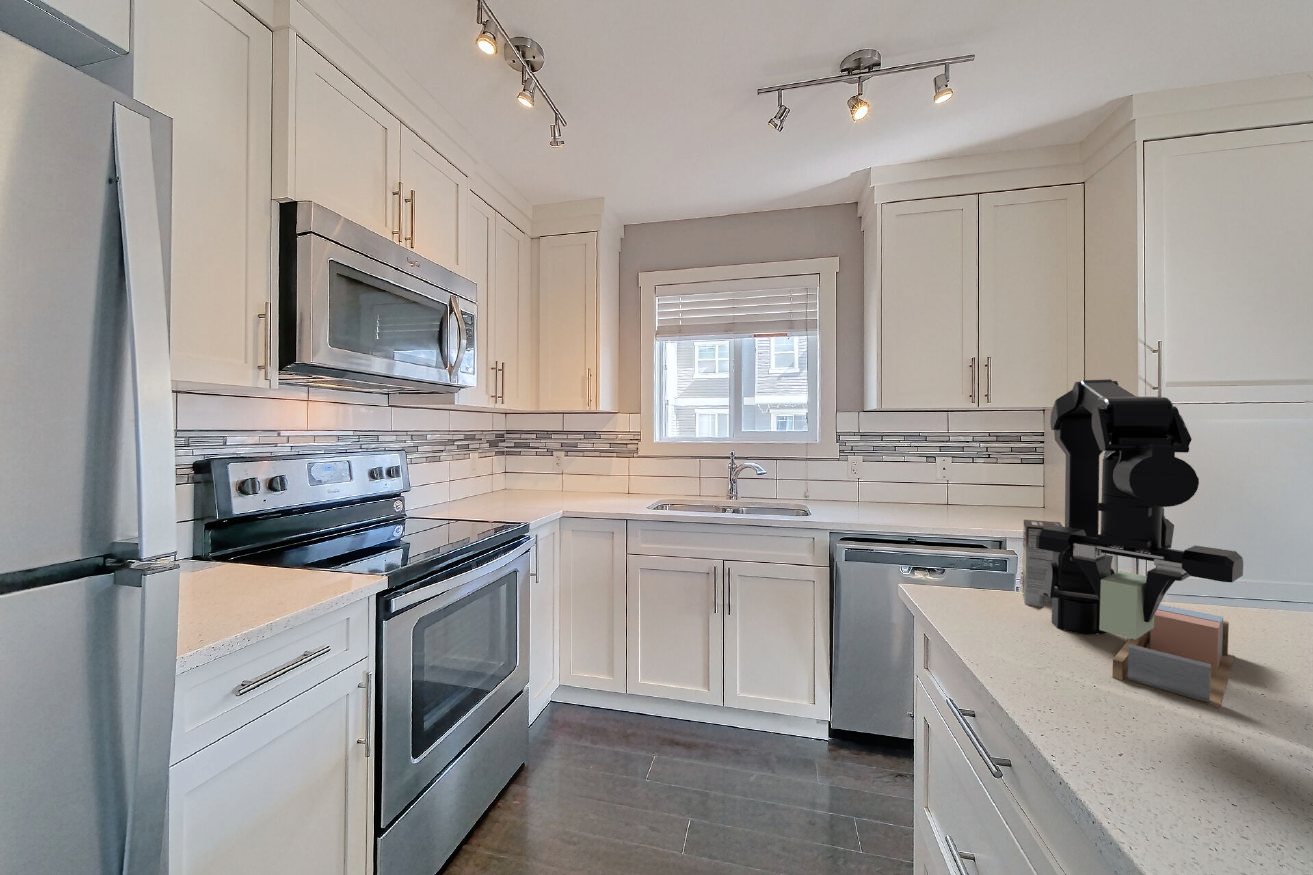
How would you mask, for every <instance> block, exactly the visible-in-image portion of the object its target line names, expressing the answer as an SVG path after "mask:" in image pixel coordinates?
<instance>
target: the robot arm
mask: <svg viewBox="0 0 1313 875" xmlns="http://www.w3.org/2000/svg"><path fill="white" fill-rule="evenodd" d="M1050 412H1051V413H1050V418H1049V420H1050V422H1049V424H1050V430H1051V431H1054V432H1053V433H1054V441H1055V442H1056V444H1057V445H1058V447H1059V448H1060V449H1061V451H1062V452H1063V453H1064V455H1065V475H1064V476H1065V479H1064V480H1065V492H1064V497H1065V498H1064V526H1063V525H1062V526H1063V527H1062V526H1051V527H1047V528H1043V529H1041V530H1040V531H1039V532H1038V534H1037V536H1036V548H1038V549H1042V550H1048V551H1053V562H1050V563H1049V566H1048V569H1047V572H1046V575H1045V591H1046V593H1047V594H1048V596H1049V597H1050V598H1052V604H1051V624H1053V626H1054V627H1055V628H1056V629H1058V630H1062V631H1065V632H1069V633H1074V634H1079V635H1089V636H1090V635H1091V636H1092V635H1093V636H1095V635H1107V632H1105V631H1102V630H1099V626H1100V592H1101V579H1103V578H1106V577H1108V576H1110V575H1113V574H1115V573H1116V572H1115V571H1114V568H1112V563H1113V562H1112V561H1113V558H1114V556H1119V557H1127V558H1132V559H1136V560H1137V559H1138V560H1143V561H1148V562H1149V561H1150V562H1153V565H1154V566H1155V567H1153V568H1152V569H1149V570H1148V571H1147V572H1146V576H1147V579H1146V589H1145V598H1144V608H1143V614H1144V622H1147V623H1149V622H1150V621H1151V620H1152V618H1153V616H1154V614H1155V612H1156V610H1157V608H1158V607H1159V605H1160V604H1161V602H1162V601H1163V599H1164V597H1165V595H1166V594H1167V592H1168V590H1170V588H1171V587H1172V585H1173V584H1174V583H1175V582H1181V581H1184V580H1186V579H1188V578H1189V577H1194V578H1200V579H1205V580H1211V581H1214V582H1215V581H1216V582H1222V583H1234V582H1235V581H1237V580H1238V579H1240V578H1241V577H1243V575H1244V559H1243V556H1241V554H1240V553H1238V551H1237V550H1230V549H1229V550H1228V549H1222V548H1217V547H1210V546H1201V545H1193V546H1191V547H1189V548H1186V549H1184V550H1179V549H1174V548H1173V549H1172V546H1173V545H1172V544H1173V538H1174V532H1175V531H1174V530H1175V524H1173V523H1172V522H1171V521H1170V520H1169V518H1168V519H1167V518H1166V517H1165V508H1169V507H1176V506H1179V505H1182V504H1184V503H1185V502H1187V501H1190V500H1191V498H1193V497H1194V496H1195V494H1196V493H1197V491H1198V487H1199V484H1200V479H1199V476H1198V475H1197V473H1196V470H1195V469H1194V468H1193V466H1191V464H1189V463H1188V462H1186V461H1185V460H1183V459H1181V458H1179V457H1176V455H1175V454H1176V453H1185V454H1187V453H1189V452H1190V444H1191V442H1192V436H1191V435H1190V432H1189V429H1188V427H1187V426H1186V423H1185V421H1184V418H1183V416H1182V415H1181V414H1180V412H1179V410H1178V407H1177V406H1174V405H1173V402H1172V401H1171V400H1170V399H1169V398H1168V397H1165V396H1136V395H1134V394H1133V393H1131V392H1130V391H1128V390H1127V389H1125V388H1123V387H1121V386H1120V385H1119V383H1118V381H1117V380H1112V379H1109V378H1108V379H1081V380H1080V381H1075V382H1074V384H1073V386H1072V389H1071V390H1070V391H1068V392H1066V393H1064V394H1063V395H1062V396H1060V397H1058V398H1057V399H1055V401H1054V404H1053V407H1052V408H1051V411H1050ZM1103 452H1104V453H1103ZM1102 453H1103V454H1104V456H1103V458H1102V466H1101V467H1102V468H1101V469H1102V474H1101V502H1100V456H1101V454H1102ZM1099 512H1100V513H1099ZM1099 515H1100V517H1099ZM1099 518H1100V520H1099ZM1099 521H1100V524H1099ZM1099 525H1100V526H1099ZM1099 527H1100V529H1099ZM1099 530H1100V531H1099ZM1099 532H1100V533H1099ZM1113 555H1114V556H1113ZM1055 586H1056V587H1057V588H1055Z"/></svg>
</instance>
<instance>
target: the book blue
mask: <svg viewBox="0 0 1313 875" xmlns="http://www.w3.org/2000/svg"><path fill="white" fill-rule="evenodd" d="M1157 610H1161V611H1166V612H1171V613H1176V614H1181V615H1186V616H1190V617H1195V618H1200V619H1205V620H1210V621H1215V622H1220V623H1221V631H1220V660H1221V657H1222V640H1223V621H1224V616H1221V615H1216V614H1211V613H1205V612H1201V611H1196V610H1191V609H1185V608H1180V607H1176V606H1171V605H1166V604H1161V603H1160V605H1159V607H1158V608H1157Z"/></svg>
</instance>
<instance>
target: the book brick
mask: <svg viewBox="0 0 1313 875" xmlns="http://www.w3.org/2000/svg"><path fill="white" fill-rule="evenodd" d="M1220 631H1221V623H1220V622H1215V621H1210V620H1205V619H1200V618H1195V617H1190V616H1186V615H1181V614H1176V613H1171V612H1166V611H1161V610H1156V612H1155V614H1154V628H1153V629H1151V637H1150V649H1152V650H1156V651H1160V652H1164V653H1168V654H1172V655H1176V656H1180V657H1184V658H1188V659H1192V660H1196V661H1200V662H1204V663H1208V664H1211V668H1212V669H1216V670H1217V669H1218V666H1219V663H1220Z"/></svg>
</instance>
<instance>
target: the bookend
mask: <svg viewBox="0 0 1313 875" xmlns="http://www.w3.org/2000/svg"><path fill="white" fill-rule="evenodd" d="M1128 680H1131V681H1134V682H1137V683H1141V684H1144V685H1148V686H1151V687H1155V688H1158V689H1162V690H1165V691H1168V692H1172V693H1175V694H1179V695H1182V696H1186V697H1189V698H1193V699H1196V700H1199V701H1203V702H1206V703H1209V701H1210V689H1211V664H1208V663H1204V662H1200V661H1196V660H1192V659H1188V658H1184V657H1180V656H1176V655H1172V654H1168V653H1164V652H1160V651H1156V650H1152V649H1148V648H1144V647H1140V646H1136V645H1132V644H1131V645H1130V646H1129V649H1128Z"/></svg>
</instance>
